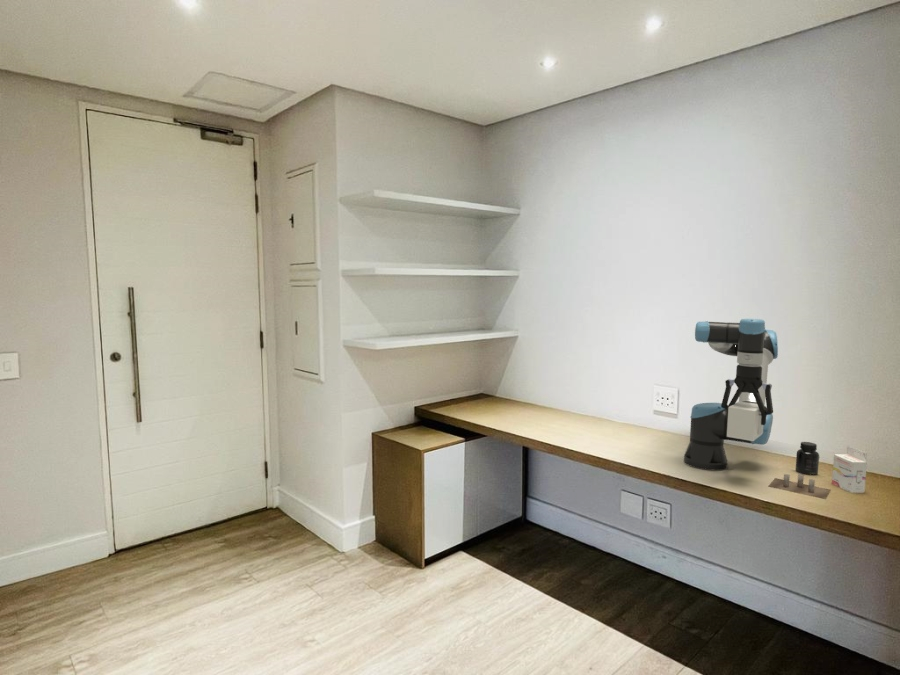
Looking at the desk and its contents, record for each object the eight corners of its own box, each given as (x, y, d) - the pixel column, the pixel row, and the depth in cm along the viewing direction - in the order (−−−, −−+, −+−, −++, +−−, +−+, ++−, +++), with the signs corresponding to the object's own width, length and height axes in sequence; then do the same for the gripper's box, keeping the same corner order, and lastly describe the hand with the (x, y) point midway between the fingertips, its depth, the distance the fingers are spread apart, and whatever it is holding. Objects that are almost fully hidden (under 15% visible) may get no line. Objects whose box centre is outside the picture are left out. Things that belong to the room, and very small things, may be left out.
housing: (737, 429, 194) (738, 401, 193) (762, 433, 189) (764, 404, 188) (726, 436, 184) (728, 407, 183) (753, 441, 179) (755, 411, 178)
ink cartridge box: (830, 487, 186) (833, 445, 184) (844, 487, 186) (847, 444, 185) (850, 497, 177) (854, 452, 176) (865, 497, 178) (868, 452, 176)
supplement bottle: (790, 472, 200) (793, 440, 199) (810, 473, 200) (812, 440, 199) (802, 479, 194) (804, 446, 192) (822, 479, 193) (824, 446, 192)
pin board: (767, 490, 182) (768, 474, 182) (774, 482, 190) (775, 466, 190) (825, 503, 172) (826, 486, 171) (830, 494, 180) (831, 477, 179)
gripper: (712, 362, 188) (709, 428, 190) (782, 369, 175) (777, 439, 177) (719, 360, 194) (715, 424, 196) (787, 367, 180) (782, 435, 182)
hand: (745, 431), depth 186 cm, fingers closed on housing, 8 cm apart
